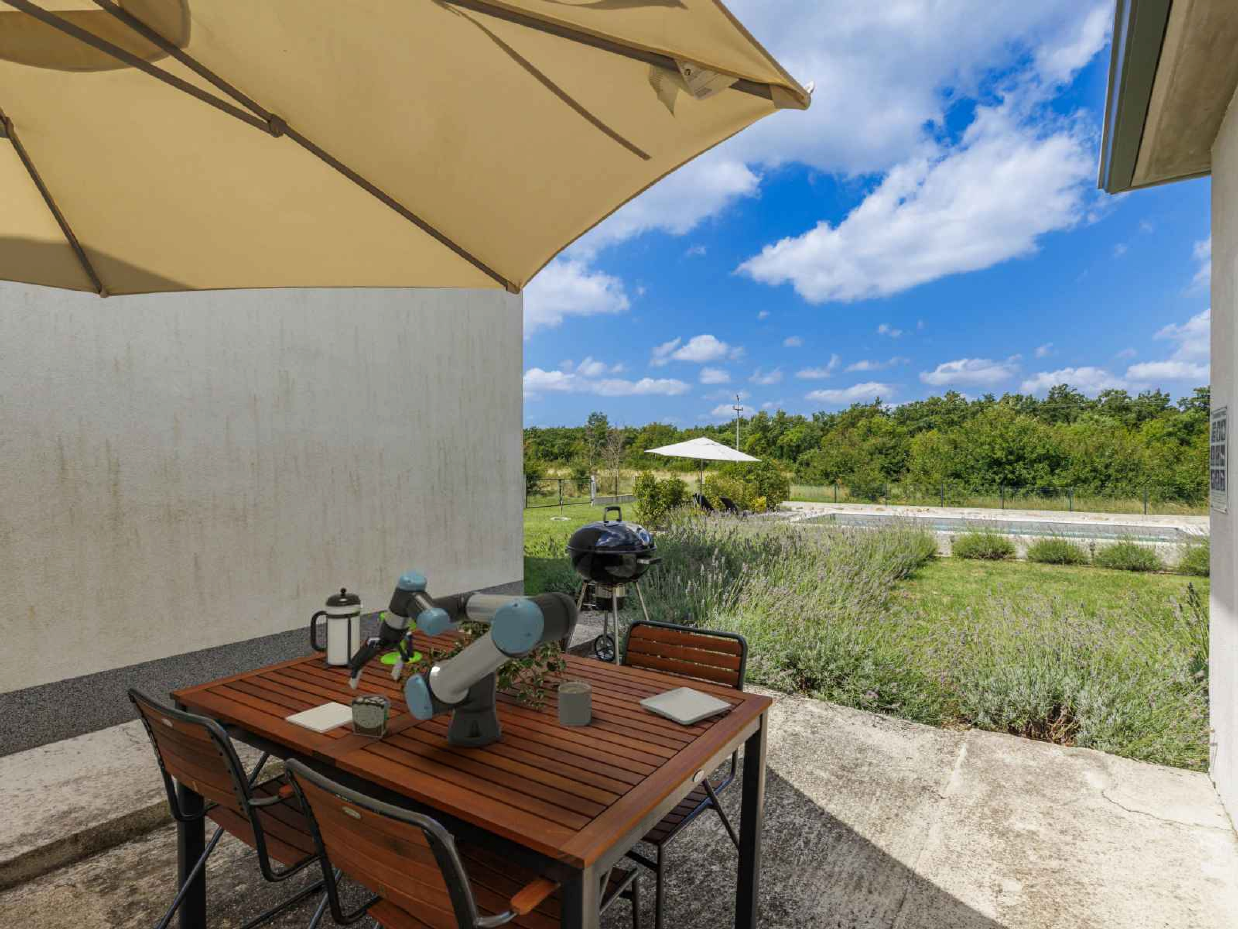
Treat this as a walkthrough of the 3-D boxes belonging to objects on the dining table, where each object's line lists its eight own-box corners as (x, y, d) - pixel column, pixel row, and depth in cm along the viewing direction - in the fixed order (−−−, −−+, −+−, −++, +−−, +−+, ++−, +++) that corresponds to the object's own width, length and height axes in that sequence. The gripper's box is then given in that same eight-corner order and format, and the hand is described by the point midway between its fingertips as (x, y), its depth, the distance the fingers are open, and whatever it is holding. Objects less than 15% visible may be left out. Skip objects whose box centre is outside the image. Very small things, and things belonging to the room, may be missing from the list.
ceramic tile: (368, 715, 202) (368, 713, 202) (321, 733, 188) (321, 730, 188) (333, 704, 212) (333, 701, 212) (285, 720, 198) (285, 717, 198)
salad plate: (685, 731, 191) (685, 720, 191) (637, 710, 208) (637, 700, 208) (733, 714, 205) (733, 703, 205) (684, 696, 221) (684, 686, 221)
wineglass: (378, 655, 267) (378, 611, 267) (419, 651, 273) (419, 608, 274) (382, 666, 252) (382, 620, 252) (424, 661, 259) (425, 616, 259)
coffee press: (355, 656, 265) (355, 582, 266) (368, 665, 253) (369, 588, 253) (309, 664, 254) (310, 587, 254) (321, 674, 242) (321, 593, 242)
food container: (399, 730, 191) (399, 695, 191) (386, 738, 185) (386, 703, 185) (363, 725, 194) (363, 692, 194) (349, 733, 188) (349, 699, 188)
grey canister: (576, 729, 192) (576, 695, 192) (551, 721, 198) (551, 688, 198) (604, 715, 202) (604, 683, 203) (579, 708, 208) (579, 677, 208)
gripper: (427, 609, 198) (404, 665, 203) (350, 619, 178) (327, 681, 183) (440, 624, 193) (416, 681, 199) (362, 636, 174) (338, 699, 179)
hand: (373, 681), depth 191 cm, fingers open, 13 cm apart
